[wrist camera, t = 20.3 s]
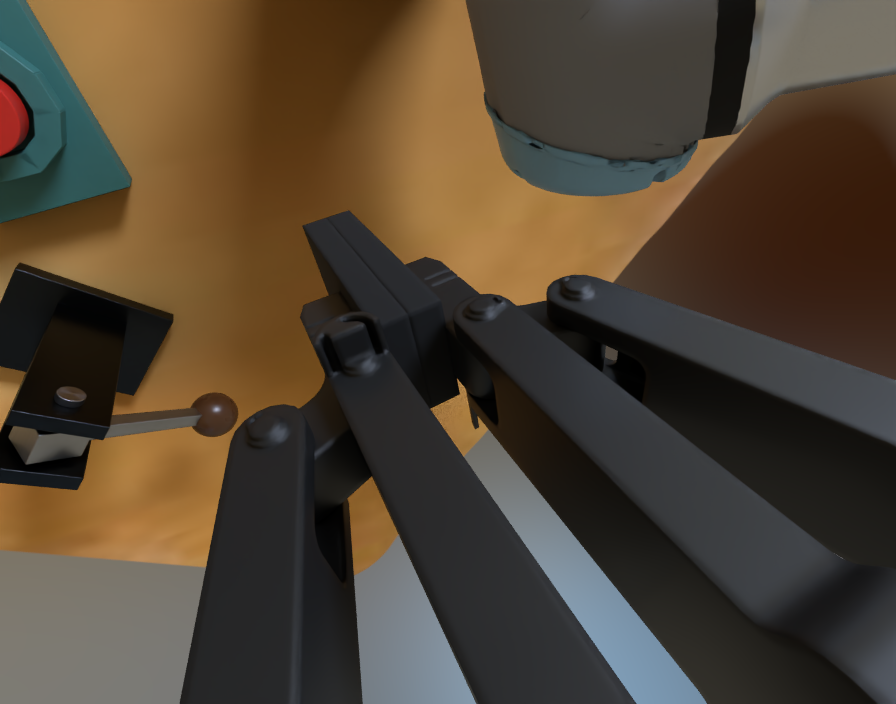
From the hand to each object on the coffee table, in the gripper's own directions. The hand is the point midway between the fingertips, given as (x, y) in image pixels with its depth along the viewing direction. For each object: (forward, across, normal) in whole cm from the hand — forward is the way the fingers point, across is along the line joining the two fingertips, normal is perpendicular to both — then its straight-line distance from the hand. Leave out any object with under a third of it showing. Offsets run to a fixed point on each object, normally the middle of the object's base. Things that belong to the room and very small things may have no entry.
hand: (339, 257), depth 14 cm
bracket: (+26, -18, -10) cm, 33 cm away
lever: (+18, -15, -14) cm, 27 cm away
